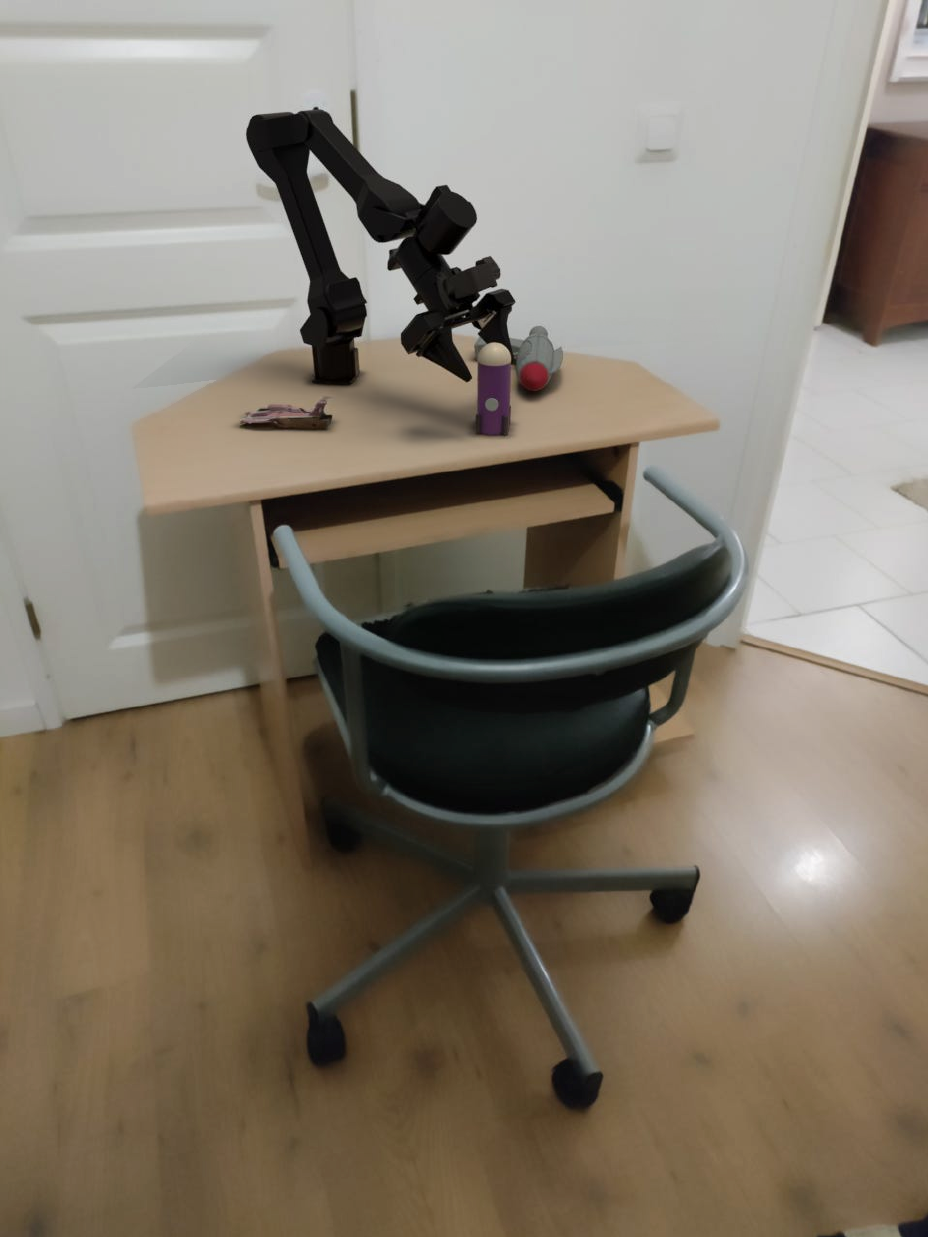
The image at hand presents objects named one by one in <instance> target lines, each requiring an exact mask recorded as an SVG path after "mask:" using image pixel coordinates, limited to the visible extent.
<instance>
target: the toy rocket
mask: <svg viewBox="0 0 928 1237" xmlns="http://www.w3.org/2000/svg"><path fill="white" fill-rule="evenodd" d="M511 375H512V365H511V355H510V352H509V350H508V349H507V348H506V347H505V346H504V345H502V344H500V343H495V342H494V343H489V344H487V345H485V346H484V347H483V348H482V349H481V350H480V352H479V355H478V361H477V376H476V377H477V380H476V381H477V384H476V386H477V387H476V389H477V390H476V392H477V393H476V394H477V395H476V396H477V397H476V400H477V401H476V406H477V407H476V409H477V410H476V414H475V434H476V435H480V434H484V435H488V436H498V435H503V436H508V432H509V431H510V425H511V419H512V418H511V417H512V416H511V415H512V412H511V411H512V406H511V383H512V382H511V380H512V377H511Z"/></svg>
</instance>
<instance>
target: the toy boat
mask: <svg viewBox="0 0 928 1237" xmlns="http://www.w3.org/2000/svg"><path fill="white" fill-rule="evenodd" d="M332 398H333V397H332V396H330V395H323V396H321V397H320V399H318V401H317V402H316V403H315V406H314V408H308V409H307V408H302V407H301V406H293V405H290V404H287V403H280V402H279V403H278V402H276V403H275V402H273V403H272V402H268V403H267V406H261V407H259V409H257V410H250V411H246V412H244V415H245V416H246V417H243V418H240V419H239V421H240V423H239V424H240V425H241V424H246V423H247V424H258V425H266V423H274V424H276V426H277V427H278V428H283V429H285V428H286V429H287V428H293V429H313V430H315V429H316V430H319V429H320V430H321V429H328V427H329V425H330V423H331V422H332V420H333V414H331V413H330V414H327V413H325V411H324V410H325V406H326V405H327V403H329V401H330V400H331V399H332Z"/></svg>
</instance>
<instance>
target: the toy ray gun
mask: <svg viewBox="0 0 928 1237" xmlns="http://www.w3.org/2000/svg"><path fill="white" fill-rule="evenodd" d="M548 336H549V333H548V329H546V327H544V326H542V325H535V326H533V327H532V328H531V329H530V330H529V333H528V336H527V337H526V338H524V339H519V338H513V337H509V338H510V343H511V347H512V351H513V355H514V358H516V363H515V372H516V377H517V380H518V381H519V382H520V384H521V385H522V387H524V388H525V389H526V390H528V391H533V392H537V391H541V390H542V389H543V388H545V387H547V385H548V384H549V382H550V380H551V379H552V376H553V374H555V373H557V372H558V371H559V370H560V368H561V366H562V364H563V359H564V353H563V352H564V351H563V347H562V346H560V347H557V348H556V349H554V346H553V343H552V341H551V339H550V338H549V337H548ZM485 345H487V343H486V342H485V341H484V340H483V339H482V338H481V337H480V336H479V335H478V338H477V339H476V340H475V342H474V344H473V347H474V355H475V361H476V362H478V355H479V352H480V350H481V349H482V348H483V347H484V346H485Z"/></svg>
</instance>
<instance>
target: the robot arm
mask: <svg viewBox="0 0 928 1237" xmlns="http://www.w3.org/2000/svg"><path fill="white" fill-rule="evenodd" d="M245 136H246V137H245V138H246V142H247V146H248V148H249V150H250V152H251V154H252V156H253V158H254V161H255V163H256V164H257V167H258V168H259V169H260V170H261V171H262V172H263V173H264V174H265V175H266V176H267V177H268V178H269V179H270V180H271V181H272V182H273V183H274V184H275V187H276V189H277V192H278V194H279V198H280V200H281V202H282V203H281V204H282V205H283V208H284V211H285V214H286V217H287V220H288V223H289V225H290V228H291V231H292V234H293V236H294V239H295V242H296V245H297V248H298V251H299V253H300V256H301V259H302V262H303V264H304V267H305V270H306V273H307V276H308V279H309V286H308V292H307V300H306V303H307V306H308V310H309V316H308V317H307V319H306V320H305V322H304V323H303V324H302V325H301V327H300V328H299V333H300V337H301V339H302V342H303V344H305V345H309V346H311V352H312V353H311V354H312V363H313V364H312V365H313V372H314V375H313V377H312V378H311V383H314V384H331V385H351V384H352V383H353V382H354V381H355V379H356V377H358V375H359V374H360V372H361V371H360V357H359V349H358V347H355V346H356V345H355V339H357V338H362V336H363V331H364V326H365V322H366V318H367V317H368V311H367V306H366V304H368V300H366V298H365V296H364V294H363V291H362V287H361V283H360V281H359V279H358V278H357V276H354V277H348V276H347V275H346V274H345V273H344V272H343V271H342V269H341V267H340V263H339V262H338V258H337V256H336V253H335V250H334V247H333V244H332V241H331V237H330V236H329V233H328V229H327V227H326V224H325V221H324V218H323V216H322V213H321V209H320V206H319V204H318V201H317V198H316V195H315V192H314V189H313V186H312V183H311V181H310V178H309V174H308V169H309V168H308V167H309V162H310V161H309V160H310V154H311V153H312V155H314V157H315V158H316V159H317V160H318V161H319V163H320V164H322V165H323V167H324V168H325V169H326V170H327V172H329V174H330V175H331V176H332V177H333V178H334V179H335V180H336V181H337V183H338V184H339V185H340V187H342V189H343V190H344V191H345V192H346V193H347V194H348V195H349V197H350V198H351V199H352V200H353V202H354V203H355V207H356V214H357V218H358V220H359V221H360V222H361V224H362V226H363V227H364V229H365V230H366V232H367V233H368V235H369V236H370V237H371V239H372V240H373V241H375V243H378V244H380V243H381V244H385V243H389V242H394V241H399V240H402V241H401V242H400V244H399V245H398V246H397V247H396V248H391V249H389V250H388V259H387V266H386V269H387V271H389V272H391V271H395V270H396V271H397V270H399V269H401V270H402V272H403V273H404V275H405V277H406V279H407V280H408V281H409V283H410V285H411V287H412V288H413V289H414V290H415V293H416V295H415V296H414V297H413V298H412V299H413V301H414V303H415V304H416V306H418V305H422V304H423V305H424V307H425V308H426V311H423V312H420V313H416V314H415V315H414V317H413V318H412V319H411V320H410V321H409V323H408V324H407V325H406V326H405V327H404V329H403V330H402V332H400V344H401V346H402V348H404V350H405V352H406V353H407V355H412V354H415V356H416V357H417V358H421V357H422V358H424V359H426V360H427V361H429V362H431V363H434V364H435V365H437V366H439V367H441V368H442V369H444V370H446V371H447V372H449V373H450V374H452V375H454V376H455V377H457V378H459V379H460V380H462V381H463V382H465V383H469V382H470V381H471V380H472V379H473V376H472V373H471V371H470V369H469V367H468V365H467V364H466V362H465V360H464V358H463V356H462V355H461V353H460V352H459V350H458V348H457V346H456V344H455V343H454V339H453V329H455V328H458V327H462V326H465V325H468V324H471V325H472V327H474V329H475V328H476V329H477V330H479V331H478V332H477V336H478V337H479V336H480V337H481V338H482V339H483V340H484V341H485V342H486V343H487V344H489V343H494V342H495V343H500V344H502V345H504V346H505V347H506V348H507V349H508V350H509V352H510V355H511V366H512V365H513V364H514V363H515V361H516V360H515V357H514V355H513V351H512V347H511V343H510V338H511V337H510V334H509V330H508V328H509V327H508V320H509V315H510V314H511V312H512V311H513V306H514V305H515V304H516V299H515V298H514V296H513V295H512V293H511V292H510V290H509V289H506V288H499V289H496V290H493V291H489V292H486V293H485V294H484V295H483V296H482V297H481V294H480V292H483V291H484V290H488V289H494V288H496V287H498V286H499V285H498V282H497V280H499V279H500V278H501V268H500V266H499V265H498V262H496V261H495V259H494V258H493V257H492V255H488V256H485V257H482V258H481V259H478V260H476V261H475V265H474V266H471V267H469V268H466V269H464V270H462V269H461V268H460V267H458V266H455V267H451V266H450V264H449V263H448V262H447V260H446V259H445V257H444V256H449V255H451V254H453V253H454V251H455V250H456V249H457V248H458V246H459V245H460V244H461V243H462V241H463V240H464V239H465V238H466V237H467V235H468V234H469V233H470V232H471V230H472V229H473V228H474V226H475V225H476V223H477V221H478V215H477V211H476V209H475V207H474V205H473V203H472V202H471V201H468V200H467V199H466V198H465V197H464V196H462V195H461V194H459V193H458V192H455V191H452V190H451V189H450V187H449V186H448V184H442V185H437V186H435V187H434V189H433V190H432V191H431V193H430V196H429V198H428V199H427V201H426V203H421V202H419V200H418V199H417V198H416V197H415V196H414V195H413V194H412V193H411V192H409V190H407V189H406V188H405V187H403V186H402V185H401V184H400V183H397V182H395V181H392V180H390V179H388V178H385V177H384V176H382V175H381V174H380V173H379V172H378V171H377V170H376V169H375V168H374V167H373V165H372V164H371V163H370V162H369V161H368V160H367V159H366V158H365V156H364V155H363V154H362V153H361V152H360V151H359V150H358V148H356V146H355V145H354V144H353V143H352V141H350V139H348V137H347V136H346V135H345V134H344V133H343V131H341V129H340V128H339V127H338V126H337V125H336V124H335V123H334V120H333V117H332V116H331V114H330V113H329V112H327V111H325V110H324V109H320V108H319V109H308V110H300V111H298V112H296V113H293V112H291V111H281V112H269V113H260V114H254V115H252V117H251V118H250V119H249V122H248V124H247V127H246V131H245ZM480 297H481V298H480ZM479 299H480V300H479ZM478 300H479V301H478ZM477 301H478V302H477ZM475 302H477V303H476V304H475V305H473V303H475Z"/></svg>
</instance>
